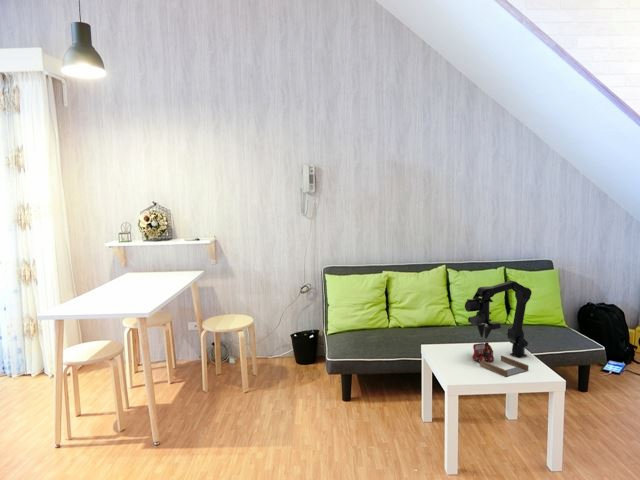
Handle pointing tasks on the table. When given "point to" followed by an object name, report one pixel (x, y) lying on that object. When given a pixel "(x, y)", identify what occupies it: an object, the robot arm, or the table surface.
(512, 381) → the table surface
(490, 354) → the toy fire truck
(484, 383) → the table surface
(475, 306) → the robot arm
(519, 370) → the pad
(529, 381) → the table surface
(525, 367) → the walnut channel
